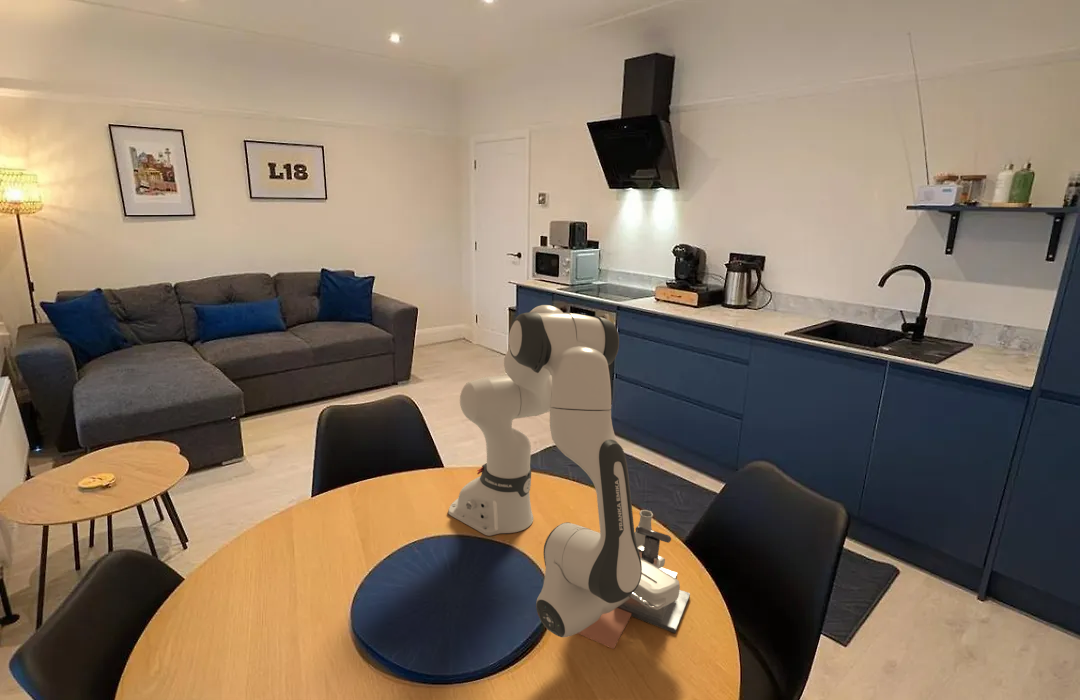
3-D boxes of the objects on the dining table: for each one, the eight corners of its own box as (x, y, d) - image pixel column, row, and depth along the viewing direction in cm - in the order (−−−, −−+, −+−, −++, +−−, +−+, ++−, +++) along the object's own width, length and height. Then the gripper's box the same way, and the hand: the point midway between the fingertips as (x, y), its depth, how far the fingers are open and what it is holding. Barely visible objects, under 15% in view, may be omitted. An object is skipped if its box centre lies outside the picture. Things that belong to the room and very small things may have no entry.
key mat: (547, 620, 108) (547, 617, 108) (568, 591, 117) (568, 588, 117) (613, 649, 102) (614, 646, 102) (631, 616, 110) (631, 613, 110)
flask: (657, 561, 128) (662, 523, 126) (626, 556, 130) (630, 519, 127) (657, 544, 135) (661, 508, 133) (627, 539, 137) (631, 503, 134)
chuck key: (626, 589, 115) (633, 529, 111) (631, 582, 118) (638, 522, 114) (661, 602, 112) (669, 540, 108) (665, 594, 114) (673, 533, 111)
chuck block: (599, 603, 114) (601, 580, 112) (618, 571, 124) (621, 550, 123) (675, 633, 107) (678, 609, 105) (689, 597, 117) (692, 575, 116)
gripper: (655, 597, 96) (698, 566, 105) (572, 542, 110) (616, 520, 119) (652, 627, 97) (694, 594, 107) (570, 569, 112) (614, 545, 121)
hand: (653, 554), depth 113 cm, fingers closed on chuck key, 3 cm apart
